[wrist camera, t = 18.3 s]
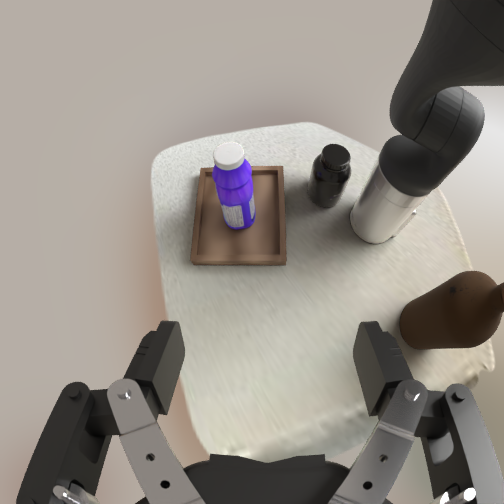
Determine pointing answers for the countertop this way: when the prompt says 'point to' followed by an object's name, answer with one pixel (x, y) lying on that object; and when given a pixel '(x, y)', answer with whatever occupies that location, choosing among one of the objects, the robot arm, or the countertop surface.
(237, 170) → the bottle
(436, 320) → the olive oil
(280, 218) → the walnut tray
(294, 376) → the countertop surface
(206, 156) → the countertop surface
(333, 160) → the supplement bottle
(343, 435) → the countertop surface
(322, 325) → the countertop surface
